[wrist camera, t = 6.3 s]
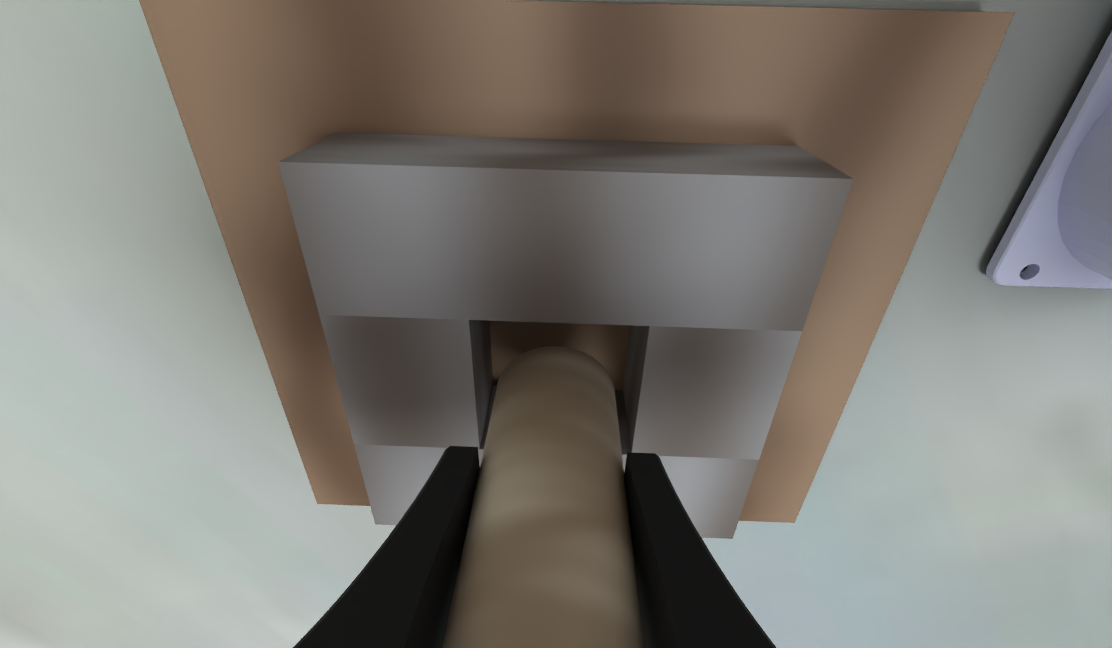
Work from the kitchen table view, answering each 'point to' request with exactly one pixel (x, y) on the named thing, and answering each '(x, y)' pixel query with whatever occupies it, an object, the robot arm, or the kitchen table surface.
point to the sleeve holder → (570, 216)
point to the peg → (549, 516)
